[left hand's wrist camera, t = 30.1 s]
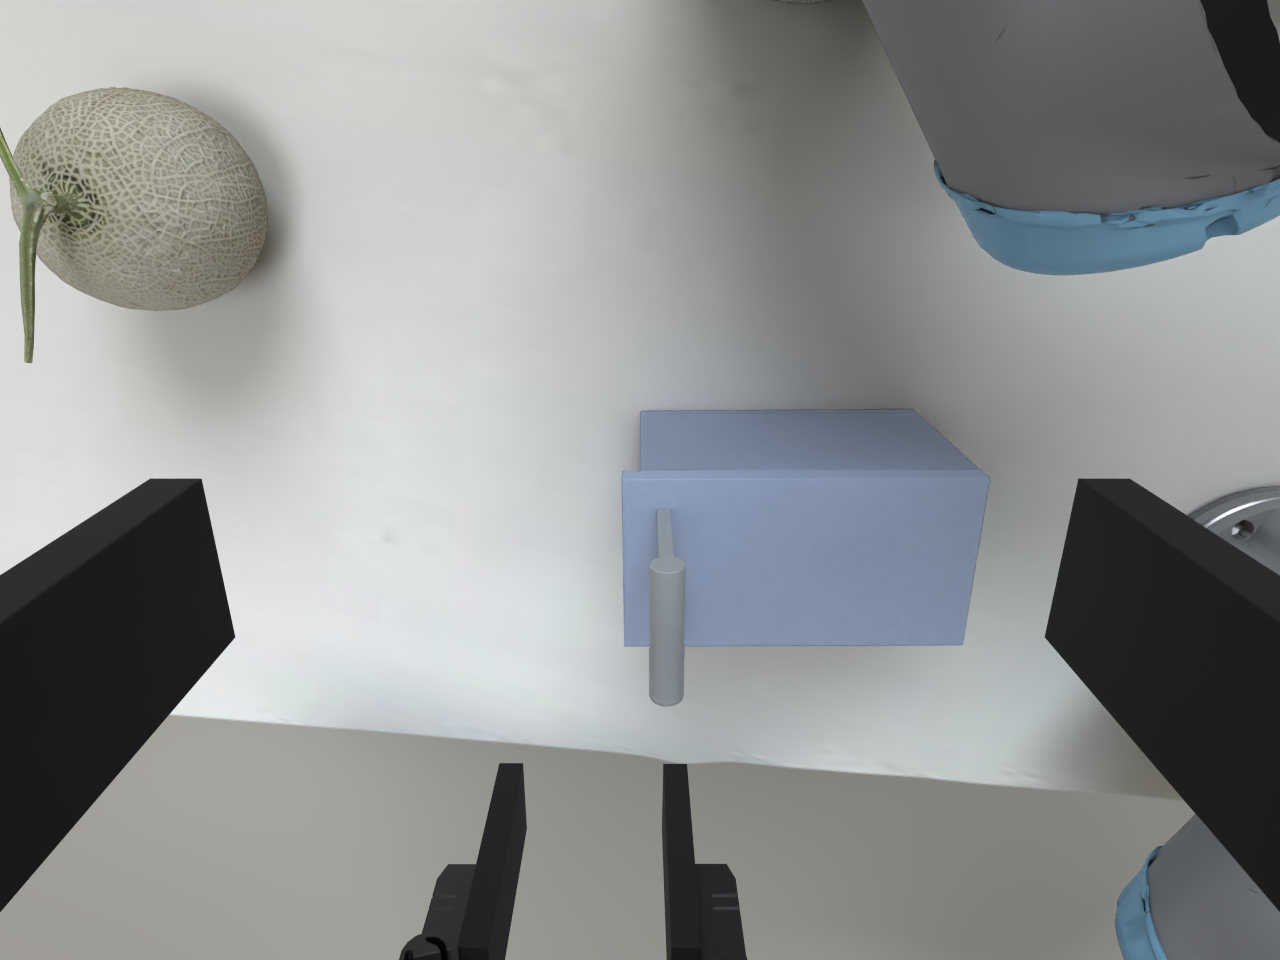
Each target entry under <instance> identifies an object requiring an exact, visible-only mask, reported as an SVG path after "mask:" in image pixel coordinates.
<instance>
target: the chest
mask: <svg viewBox="0 0 1280 960" xmlns="http://www.w3.org/2000/svg"><path fill="white" fill-rule="evenodd" d="M640 452H641V471H775V470H980V469H979V468H978V467H977V466H976V465H975V464H974V463H973V462H971V461H970V460H969V459H968V458H967V457H966V456H965V455H964V454H963V453H961V452H960V451H959V450H958V449H957V448H956V447H955V446H954V445H953V444H951V443H950V442H949V441H948V440H947V439H946V438H945V437H944V436H942V435H941V434H940V433H939V432H938V431H937V430H936V429H935V428H934V427H932V426H931V425H930V424H929V423H928V422H927V421H926V420H925V419H924V418H922V417H921V416H920V415H919V414H918V413H917V412H916V411H914V410H721V411H641V412H640Z"/></svg>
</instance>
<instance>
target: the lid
mask: <svg viewBox="0 0 1280 960" xmlns="http://www.w3.org/2000/svg"><path fill="white" fill-rule="evenodd" d="M989 481H990V478H989V477H988V476H987V475H986V474H985V473H984V472H983V471H982V470H775V471H623V472H622V519H623V588H624V646H649V696H650V698H651V700H652V701H653V702H654V703H656V704H658V705H661V706H673V705H676V704H678V703H679V702H680V701H681V700H682V699H683V690H684V646H877V645H963V640H964V634H965V628H966V622H967V616H968V609H969V603H970V597H971V591H972V585H973V579H974V573H975V567H976V561H977V555H978V548H979V542H980V536H981V530H982V524H983V518H984V512H985V506H986V500H987V494H988V487H989Z"/></svg>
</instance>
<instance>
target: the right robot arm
mask: <svg viewBox="0 0 1280 960" xmlns="http://www.w3.org/2000/svg"><path fill="white" fill-rule="evenodd" d="M1189 517H1190V518H1191V519H1193V520H1195V521H1196V522H1198V523H1199V524H1201V525H1202V526H1204V527H1205V528H1207V529H1209V530H1210V531H1212V532H1213V533H1215V534H1216V535H1218V536H1219V537H1221V538H1222V539H1224V540H1226V541H1227V542H1229V543H1230V544H1232V545H1233V546H1235V547H1236V548H1238V549H1240V550H1241V551H1243V552H1244V553H1246V554H1247V555H1249V556H1250V557H1252V558H1254V559H1255V560H1257V561H1258V562H1260V563H1261V564H1263V565H1264V566H1266V567H1268V568H1269V569H1271V570H1272V571H1274V572H1275V573H1277V574H1278V575H1280V487H1263V488H1256V489H1250V490H1246V491H1242V492H1238V493H1235V494H1232V495H1229V496H1226V497H1223V498H1221V499H1219V500H1217V501H1214V502H1212V503H1210V504H1208V505H1206V506H1205V507H1203V508H1201V509H1199V510H1198V511H1196V512H1195V513H1193V514H1191V515H1190V516H1189ZM526 830H527V825H526V808H525V791H524V774H523V763H500V764H499V768H498V772H497V777H496V781H495V785H494V790H493V794H492V798H491V803H490V807H489V811H488V816H487V820H486V824H485V829H484V833H483V837H482V842H481V846H480V850H479V855H478V859H477V863H476V864H448V865H447V867H446V868H445V869H444V871H443V872H442V873H441V875H440V876H439V877H438V879H437V881H436V885H435V889H434V892H433V898H432V899H431V903H430V906H429V911H428V914H427V917H426V921H425V924H424V928H423V931H422V934H420V935H417V936H415V937H414V938H413V939H411V940H410V941H409V942H407V944H406V945H405V947H404V948H403V949H402V951H401V955H400V959H399V960H505V956H506V950H507V944H508V938H509V932H510V926H511V920H512V914H513V908H514V902H515V896H516V890H517V884H518V878H519V872H520V866H521V860H522V854H523V848H524V842H525V836H526ZM662 841H663V868H664V895H665V923H666V951H667V960H747V957H746V952H745V945H744V938H743V930H742V923H741V916H740V910H739V901H738V894H737V886H736V879H735V877H734V875H733V874H732V872H731V871H730V869H729V867H728V866H727V864H695V858H694V846H693V834H692V822H691V809H690V797H689V785H688V772H687V764H663V809H662ZM1115 927H1116V934H1117V938H1118V942H1119V946H1120V949H1121V952H1122V955H1123V958H1124V960H1280V912H1279V911H1278V909H1277V908H1276V907H1275V906H1274V905H1273V904H1272V902H1271V901H1270V900H1269V899H1268V898H1267V897H1266V895H1265V894H1264V893H1263V892H1262V891H1261V890H1260V888H1259V887H1258V886H1257V885H1256V884H1255V883H1254V881H1253V880H1252V879H1251V878H1250V877H1249V876H1248V874H1247V873H1246V872H1245V871H1244V870H1243V869H1242V867H1241V866H1240V865H1239V864H1238V863H1237V861H1236V860H1235V859H1234V858H1233V857H1232V856H1231V854H1230V853H1229V852H1228V851H1227V850H1226V849H1225V847H1224V846H1223V845H1222V844H1221V843H1220V842H1219V840H1218V839H1217V838H1216V837H1215V836H1214V835H1213V833H1212V832H1211V831H1210V830H1209V829H1208V828H1207V826H1206V825H1205V824H1204V823H1203V822H1202V821H1201V819H1200V818H1199V817H1198V816H1197V815H1196V814H1195V815H1194V816H1193V817H1192V818H1191V819H1190V820H1189V821H1188V822H1187V823H1186V824H1185V825H1184V826H1183V827H1182V828H1181V829H1180V830H1179V831H1178V832H1177V833H1176V834H1175V835H1174V836H1173V837H1172V838H1171V839H1170V840H1169V841H1168V842H1167V843H1166V844H1165V845H1164V846H1159V847H1157V848H1156V849H1155V850H1153V851H1152V852H1151V853H1150V854H1149V856H1148V857H1147V859H1146V861H1145V864H1144V866H1143V868H1142V870H1141V871H1140V872H1139V873H1138V874H1137V875H1136V876H1135V877H1134V878H1133V880H1132V881H1131V882H1130V883H1129V884H1128V885H1127V886H1126V887H1125V888H1124V890H1123V891H1122V893H1121V895H1120V897H1119V899H1118V902H1117V911H1116V918H1115Z"/></svg>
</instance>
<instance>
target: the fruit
mask: <svg viewBox="0 0 1280 960" xmlns="http://www.w3.org/2000/svg"><path fill="white" fill-rule="evenodd" d="M0 157H1V159H2V162H3V164H4V166H5V168H6V170H7V172H8V174H9V180H10V193H11V208H12V212H13V217H14V220H15V222H16V224H17V226H18V228H19V230H20V232H21V236H20V242H19V251H20V288H21V305H22V315H23V324H24V333H25V362H26V363H32V358H33V348H34V316H35V260H36V254H37V256H38V257H39V258H40V260H41V261H42V262H43V263H44V264H45V265H46V266H47V267H48V268H49V269H50V270H51V271H52V272H53V273H55V274H56V275H57V276H58V277H59V278H60V279H61V280H62V281H64V282H65V283H67V284H69V285H70V286H72V287H74V288H75V289H77V290H78V291H80V292H83V293H85V294H87V295H90V296H92V297H94V298H96V299H99V300H102V301H105V302H108V303H111V304H114V305H117V306H120V307H125V308H130V309H138V310H155V311H156V310H179V309H185V308H189V307H194V306H197V305H200V304H202V303H205V302H208V301H211V300H213V299H216V298H218V297H219V296H221V295H223V294H225V293H227V292H228V291H230V290H232V289H233V288H234V287H235V286H237V285H238V284H239V282H240V281H241V280H242V279H243V278H244V277H245V276H246V275H247V274H248V273H249V272H250V270H251V268H252V267H253V265H254V264H255V263H256V261H257V259H258V257H259V254H260V252H261V250H262V248H263V245H264V241H265V238H266V234H267V223H268V217H267V203H266V197H265V193H264V189H263V185H262V183H261V180H260V178H259V175H258V173H257V171H256V168H255V166H254V165H253V163H252V161H251V159H250V158H249V156H248V155H247V154H246V152H245V151H244V150H243V148H242V147H241V145H240V144H239V143H238V141H237V140H236V139H235V138H234V137H233V136H232V135H231V134H230V133H229V132H228V131H227V130H226V129H225V128H224V127H222V126H221V125H220V124H219V123H218V122H216V121H215V120H213V119H212V118H210V117H209V116H207V115H205V114H204V113H202V112H200V111H199V110H197V109H195V108H194V107H191V106H189V105H187V104H185V103H183V102H181V101H179V100H177V99H174V98H172V97H168V96H165V95H161V94H157V93H154V92H149V91H143V90H137V89H130V88H115V87H110V88H107V89H96V90H91V91H86V92H82V93H78V94H75V95H72V96H69V97H65V98H62V99H60V100H59V101H58V102H56V103H55V104H53V105H51V106H50V107H49V108H48V109H47V110H46V111H45V112H44V113H43V114H42V115H41V116H39V117H38V118H37V119H36V120H35V121H34V122H33V123H32V125H31V126H30V127H29V128H28V129H27V130H26V131H25V133H24V134H23V135H22V137H21V138H20V140H19V142H18V144H17V147H16V149H15V152H14V154H13V157H12V155H11V152H10V150H9V148H8V146H7V143H6V141H5V138H4V136H3V133H2V131H1V128H0Z"/></svg>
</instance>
